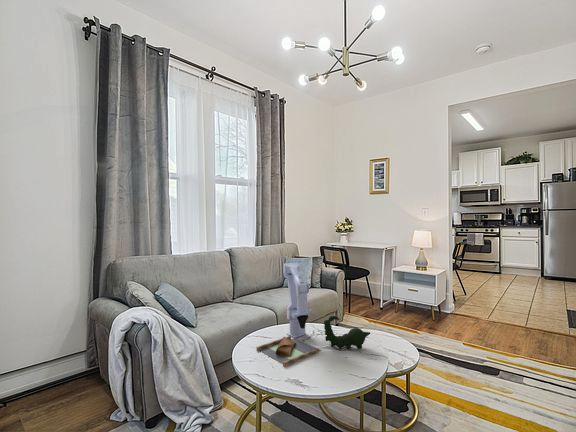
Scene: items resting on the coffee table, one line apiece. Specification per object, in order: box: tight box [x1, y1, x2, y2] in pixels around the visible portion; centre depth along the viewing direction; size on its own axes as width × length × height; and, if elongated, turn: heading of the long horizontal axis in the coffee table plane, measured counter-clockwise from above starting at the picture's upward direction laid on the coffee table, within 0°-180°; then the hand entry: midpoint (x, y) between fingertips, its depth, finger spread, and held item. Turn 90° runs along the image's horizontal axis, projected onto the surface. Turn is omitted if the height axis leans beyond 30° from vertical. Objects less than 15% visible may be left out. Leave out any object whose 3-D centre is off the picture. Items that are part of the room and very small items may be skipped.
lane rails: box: [256, 335, 320, 367], centre depth 175 cm, size 24×24×2 cm
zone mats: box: [258, 337, 322, 365], centre depth 176 cm, size 26×22×1 cm
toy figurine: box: [323, 315, 371, 350], centre depth 179 cm, size 9×19×25 cm
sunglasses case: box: [276, 336, 296, 357], centre depth 177 cm, size 18×7×7 cm
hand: (302, 327), depth 184 cm, fingers closed
